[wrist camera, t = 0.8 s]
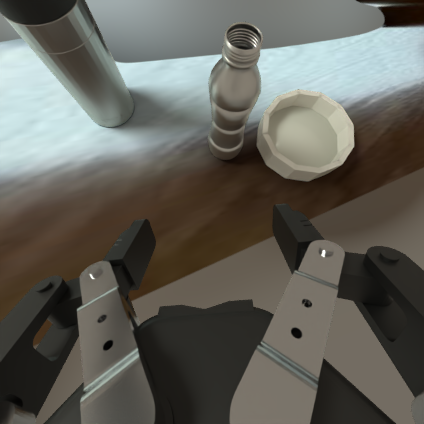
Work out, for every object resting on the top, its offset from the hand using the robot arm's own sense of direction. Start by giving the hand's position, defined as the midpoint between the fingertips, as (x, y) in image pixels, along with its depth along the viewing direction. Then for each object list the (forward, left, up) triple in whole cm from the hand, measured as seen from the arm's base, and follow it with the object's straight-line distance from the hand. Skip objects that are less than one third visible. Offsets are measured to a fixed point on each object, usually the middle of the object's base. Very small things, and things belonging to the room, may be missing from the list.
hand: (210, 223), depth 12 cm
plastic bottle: (-16, +10, -22) cm, 29 cm away
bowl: (-12, +25, -22) cm, 35 cm away
